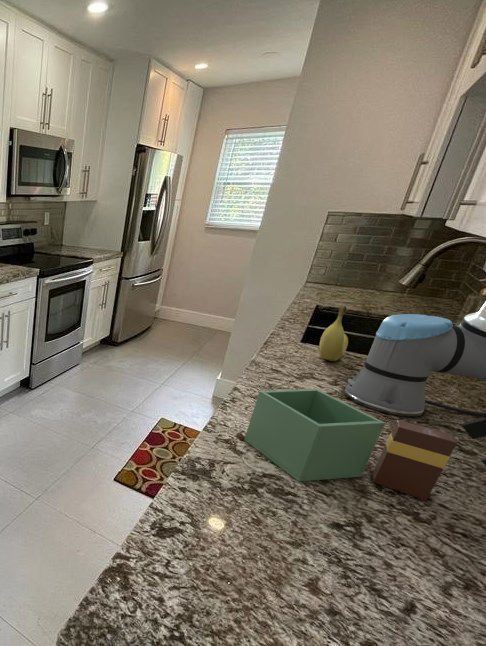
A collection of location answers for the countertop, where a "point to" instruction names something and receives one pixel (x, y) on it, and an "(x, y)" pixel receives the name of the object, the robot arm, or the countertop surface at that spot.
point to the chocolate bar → (413, 459)
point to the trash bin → (312, 434)
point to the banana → (334, 339)
